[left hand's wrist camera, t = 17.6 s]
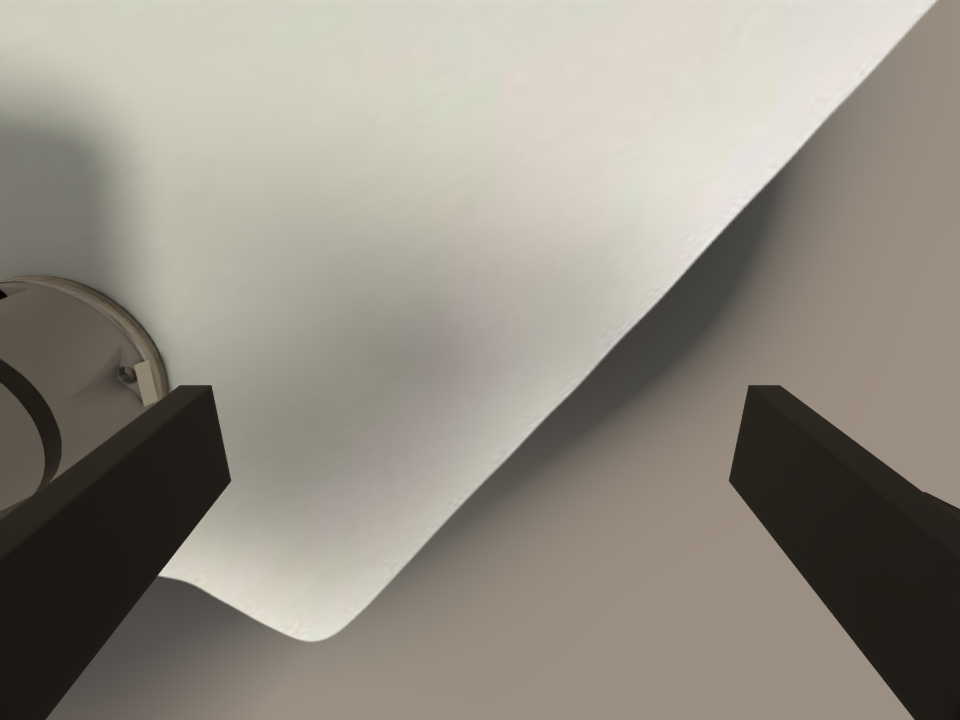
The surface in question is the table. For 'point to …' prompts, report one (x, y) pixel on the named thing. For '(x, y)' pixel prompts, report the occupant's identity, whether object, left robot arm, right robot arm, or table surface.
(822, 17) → the table surface
